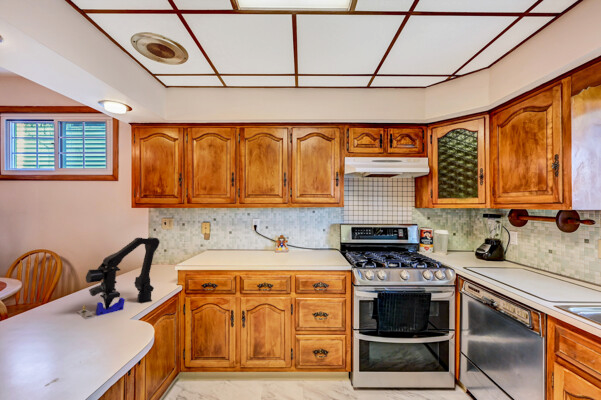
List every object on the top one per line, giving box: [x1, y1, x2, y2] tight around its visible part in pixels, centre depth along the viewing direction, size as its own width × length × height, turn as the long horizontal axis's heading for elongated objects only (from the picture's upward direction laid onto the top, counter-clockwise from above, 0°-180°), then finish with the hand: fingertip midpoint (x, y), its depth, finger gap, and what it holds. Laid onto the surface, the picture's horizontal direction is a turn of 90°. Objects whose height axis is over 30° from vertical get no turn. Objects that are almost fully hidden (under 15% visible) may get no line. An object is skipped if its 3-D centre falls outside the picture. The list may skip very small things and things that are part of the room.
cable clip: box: [95, 297, 126, 317], centre depth 144 cm, size 12×4×6 cm, turn 148°
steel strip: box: [76, 305, 96, 320], centre depth 139 cm, size 4×16×4 cm, turn 51°
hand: (106, 308), depth 145 cm, fingers closed
